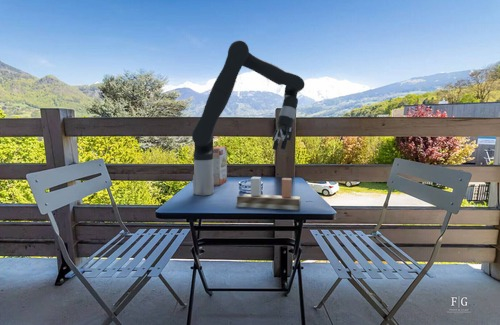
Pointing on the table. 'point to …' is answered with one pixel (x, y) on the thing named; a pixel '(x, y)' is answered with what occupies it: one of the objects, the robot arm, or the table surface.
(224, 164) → the cracker box
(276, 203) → the press stand
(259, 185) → the white rectangular block
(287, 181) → the terracotta plug
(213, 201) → the table surface
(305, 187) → the table surface
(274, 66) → the robot arm
